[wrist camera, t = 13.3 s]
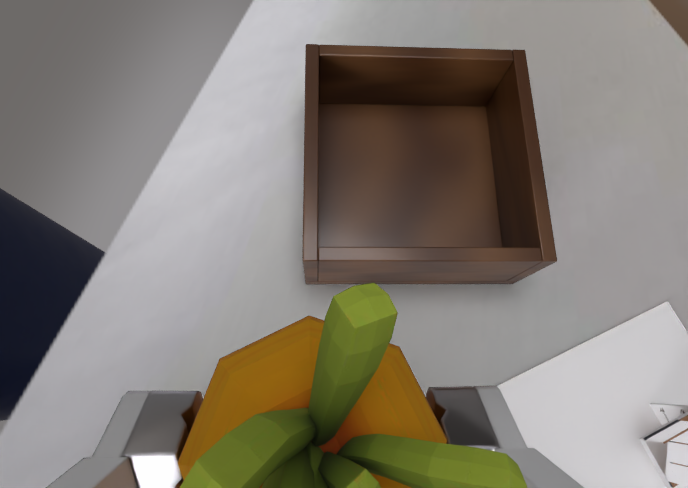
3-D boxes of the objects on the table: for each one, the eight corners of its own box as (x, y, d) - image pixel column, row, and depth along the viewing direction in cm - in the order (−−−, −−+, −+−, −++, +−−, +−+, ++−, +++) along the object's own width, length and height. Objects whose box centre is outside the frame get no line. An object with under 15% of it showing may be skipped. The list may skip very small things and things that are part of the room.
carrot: (312, 325, 19) (294, 149, 5) (404, 407, 18) (708, 490, 4) (227, 421, 18) (-144, 571, 4) (322, 514, 17) (339, 1184, 3)
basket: (305, 283, 29) (302, 260, 24) (307, 100, 33) (305, 43, 28) (513, 283, 30) (557, 261, 24) (491, 104, 34) (525, 49, 28)
